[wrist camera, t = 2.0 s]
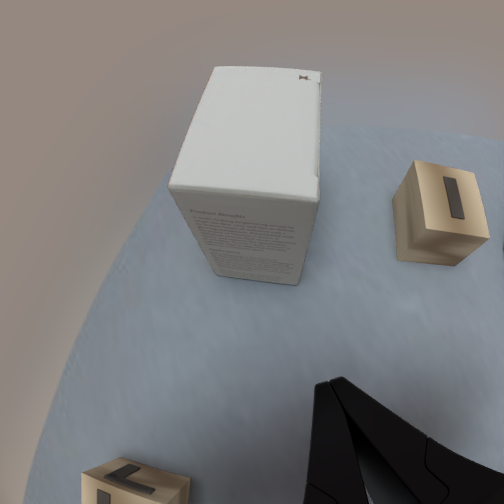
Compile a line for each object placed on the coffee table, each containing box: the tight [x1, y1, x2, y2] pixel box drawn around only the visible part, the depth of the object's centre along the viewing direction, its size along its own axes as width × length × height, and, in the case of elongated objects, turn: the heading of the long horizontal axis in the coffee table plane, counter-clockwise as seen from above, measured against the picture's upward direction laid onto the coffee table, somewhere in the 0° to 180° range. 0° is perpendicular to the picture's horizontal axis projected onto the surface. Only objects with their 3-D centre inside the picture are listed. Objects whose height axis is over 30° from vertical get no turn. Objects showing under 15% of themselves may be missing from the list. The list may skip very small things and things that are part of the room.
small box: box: [167, 66, 322, 285], centre depth 17 cm, size 8×6×10 cm
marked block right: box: [392, 160, 490, 266], centre depth 18 cm, size 5×5×5 cm
